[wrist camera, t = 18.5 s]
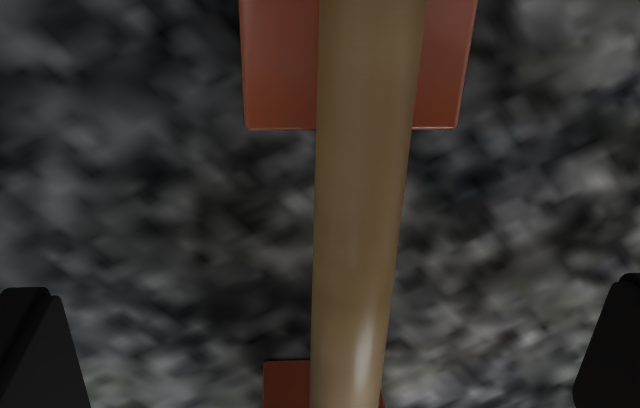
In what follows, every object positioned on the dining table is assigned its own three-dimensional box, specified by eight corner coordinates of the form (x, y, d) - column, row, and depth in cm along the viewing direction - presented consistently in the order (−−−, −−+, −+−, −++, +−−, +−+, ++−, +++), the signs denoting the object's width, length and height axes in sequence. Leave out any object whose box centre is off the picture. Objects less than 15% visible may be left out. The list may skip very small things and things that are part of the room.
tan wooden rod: (304, -77, 6) (425, -69, 5) (341, -83, 6) (444, -77, 6) (297, 563, 12) (351, 585, 11) (316, 510, 13) (367, 529, 12)
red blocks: (247, -56, 10) (236, -24, 7) (419, -53, 10) (483, -20, 7) (264, 410, 16) (262, 537, 13) (369, 406, 16) (392, 530, 13)
